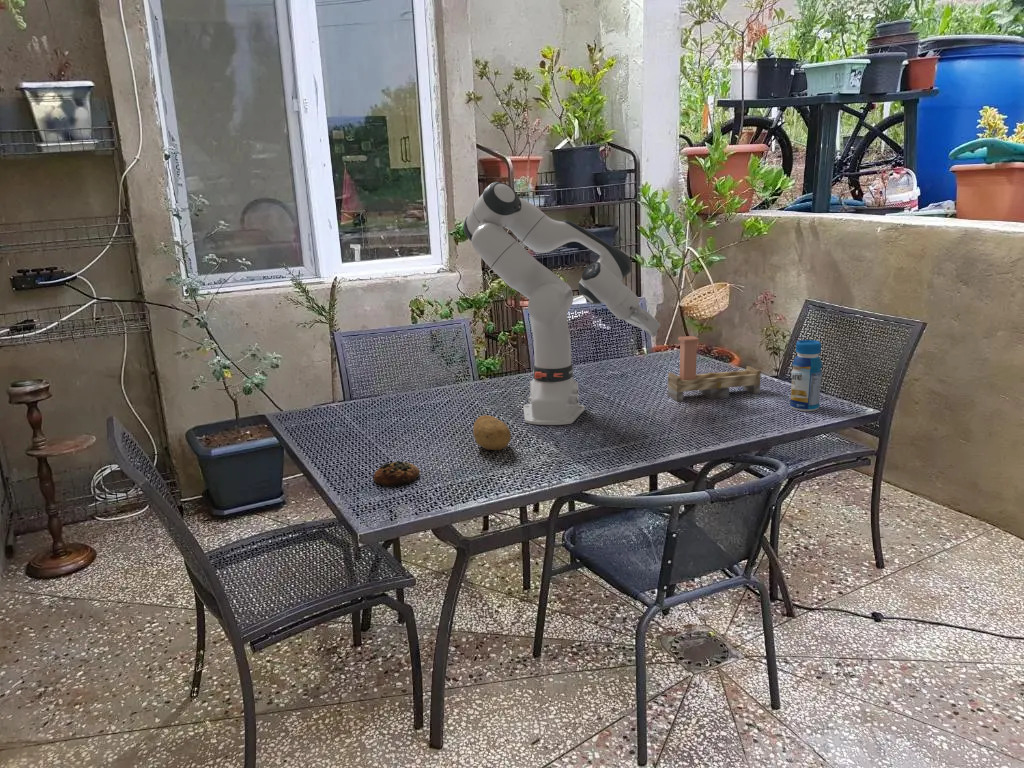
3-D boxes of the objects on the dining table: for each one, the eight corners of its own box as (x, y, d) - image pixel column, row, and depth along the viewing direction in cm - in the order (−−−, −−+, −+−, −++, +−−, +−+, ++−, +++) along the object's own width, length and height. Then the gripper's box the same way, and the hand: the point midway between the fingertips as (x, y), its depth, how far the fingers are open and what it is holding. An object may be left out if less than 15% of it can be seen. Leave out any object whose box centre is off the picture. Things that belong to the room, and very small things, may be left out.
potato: (484, 460, 188) (483, 430, 186) (466, 443, 201) (465, 415, 199) (520, 453, 192) (519, 424, 190) (500, 437, 205) (499, 410, 202)
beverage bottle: (822, 412, 216) (827, 345, 210) (792, 412, 217) (796, 345, 212) (815, 403, 224) (820, 338, 218) (786, 403, 225) (790, 338, 220)
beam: (677, 402, 230) (678, 379, 228) (666, 394, 239) (667, 372, 237) (761, 394, 235) (762, 371, 233) (747, 387, 244) (748, 365, 242)
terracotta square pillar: (683, 384, 231) (684, 340, 228) (677, 380, 236) (678, 337, 232) (697, 382, 232) (699, 338, 228) (691, 378, 237) (692, 335, 233)
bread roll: (386, 491, 172) (383, 470, 171) (366, 483, 181) (364, 463, 180) (428, 480, 178) (426, 460, 177) (407, 473, 187) (405, 454, 186)
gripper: (646, 302, 215) (676, 332, 220) (619, 292, 235) (647, 321, 239) (631, 318, 216) (661, 348, 220) (606, 307, 235) (634, 335, 239)
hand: (654, 334), depth 230 cm, fingers closed
